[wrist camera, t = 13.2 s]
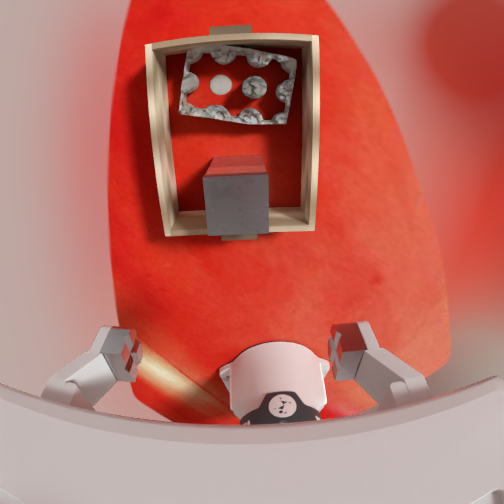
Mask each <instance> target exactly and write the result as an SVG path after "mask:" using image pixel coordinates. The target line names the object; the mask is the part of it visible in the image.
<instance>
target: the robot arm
mask: <svg viewBox="0 0 504 504" xmlns="http://www.w3.org/2000/svg"><path fill="white" fill-rule="evenodd" d="M330 332H331V335H332V336H331V337H330V338H329V341H328V356H329V360H330V361H331V362H332V363H333V366H332V372H333V375H334V379H335V381H340V380H349V379H354V380H355V381H356V382H357V383H358V384H359V385H360V386H361V387H362V388H363V389H364V390H365V391H366V392H367V393H368V394H369V395H370V396H371V397H372V398H373V399H374V400H375V401H376V402H377V403H378V404H379V407H378V408H377V410H376V411H374V412H369V413H364V414H358V415H352V416H345V417H339V418H331V419H324V420H321V416H320V413H319V412H320V410H322V409H323V407H324V405H325V404H326V403H327V398H326V391H325V385H324V377H325V376H326V374H327V372H328V371H329V369H330V365H329V362H328V361H327V360H324V359H321V358H318V357H317V356H316V355H315V354H314V353H313V352H312V351H311V350H310V349H308V348H307V347H305V346H302V345H300V344H296V343H291V342H269V343H264V344H260V345H257V346H254V347H251V348H249V349H247V350H246V351H244V352H243V353H241V354H240V355H239V356H238V357H237V358H236V359H235V360H234V361H233V362H231V363H229V364H227V365H224V366H222V367H221V368H220V369H219V374H220V377H221V379H222V380H223V382H224V384H225V386H226V388H227V389H228V391H229V393H230V409H231V410H232V411H233V412H234V414H235V415H236V417H237V418H238V419H239V420H240V425H211V424H190V423H176V422H165V421H156V420H147V419H140V418H133V417H125V416H120V415H114V414H108V413H103V412H98V411H95V409H94V408H93V406H94V405H95V404H96V403H97V402H98V401H99V400H100V399H101V398H102V397H103V396H104V395H105V393H107V392H108V391H109V390H110V389H111V388H112V387H113V386H114V384H115V383H117V381H127V382H135V379H136V376H137V373H138V369H137V367H136V366H137V365H138V364H139V363H141V360H142V352H143V351H142V345H141V343H140V341H139V340H137V339H136V337H137V332H136V330H135V329H134V328H127V327H116V326H113V327H112V326H102V327H101V328H100V330H99V332H98V334H97V336H96V338H95V340H94V342H93V344H92V346H91V348H90V350H89V352H88V351H86V352H84V353H83V354H82V355H80V356H79V357H77V358H76V359H75V360H73V361H72V362H70V363H69V364H68V365H66V366H65V367H63V368H62V369H61V370H59V371H58V372H57V373H55V374H54V375H52V376H51V377H50V378H49V380H48V383H47V384H46V387H45V389H44V391H43V393H42V395H41V397H38V396H35V395H32V394H29V393H26V392H23V391H19V390H17V389H14V388H11V387H9V386H6V385H3V384H1V383H0V504H504V378H502V377H500V376H492V377H489V378H487V379H484V380H482V381H479V382H477V383H474V384H471V385H468V386H466V387H463V388H460V389H457V390H454V391H451V392H448V393H445V394H441V395H438V396H435V397H433V396H432V394H431V392H430V390H429V387H428V385H427V383H426V381H425V379H424V376H423V375H422V374H420V373H419V372H417V371H416V370H414V369H413V368H412V367H410V366H409V365H407V364H406V363H404V362H403V361H401V360H400V359H399V358H397V357H396V356H394V355H393V354H391V353H390V352H388V351H387V350H386V349H384V348H380V347H379V345H378V342H377V340H376V338H375V335H374V333H373V331H372V329H371V327H370V324H369V322H368V321H361V322H352V323H342V324H333V325H332V327H331V331H330Z"/></svg>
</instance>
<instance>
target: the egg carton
mask: <svg viewBox="0 0 504 504" xmlns="http://www.w3.org/2000/svg"><path fill="white" fill-rule="evenodd" d="M203 53H211V56H212V58H213V59H214V60H215V61H216V62H217V63H219V64H221V65H226V64H230V63H231V62H232V61H234V59H235V57H236V56H237V55H240V56H246V57H247V61H248V63H249V64H250V65H251V66H252V67H255V68H262V67H265V66H266V65H267V64H268V63H269V62H270V61H271V60H272V59H273V60H277V62H280V65H281V67H282V69H283V70H284V71H286V72H288V73H289V79H288V80H285V81H284V82H283V83H281V84H279V85H278V86H277V88H276V91H275V93H276V96H277V98H278V99H279V100H280V101H281V102H284V103H285V110H284V112H280V113H277V114H275V115H274V116H273V118H272V119H271V120H264V119H263V118H262V115H261V114H260V113H259V112H258V111H257V110H256V109H253V108H247V109H244V110H243V111H242V112H241V113H240V115H239V116H231V115H230V114H229V112H228V111H227V110H226V108H225V107H223V106H221V105H211V106H208V107H207V108H206V109H202V108H196V107H194V106H193V105H191V104H189V103H187V102H186V99H187V94H189V93H192V92H194V91H195V90H196V89H197V88H198V86H199V79H198V77H197V76H196V75H195V74H193V73H191V72H189V70H190V66H191V64H192V63H195V62H197V61H199V60H200V59H201V57H202V55H203ZM296 66H297V60H296V59H294V58H290V57H287V56H283V55H279V54H273V53H268V52H263V51H258V50H255V49H249V48H241V47H234V46H226V45H212V46H203V47H195V48H192V49H190V50H188V51H187V55H186V62H185V67H184V75H183V80H182V85H181V97H180V105H179V114H182V115H190V116H198V117H205V118H212V119H219V120H225V121H232V122H237V123H243V124H286V123H287V118H288V113H289V108H290V102H291V97H292V91H293V86H294V81H295V74H296ZM231 87H232V82H231V80H230V79H229V78H228V77H227V76H225V75H217V76H215V77H213V78H212V79H211V81H210V88H211V91H212V92H213V93H214V94H217V95H224V94H226V93H228V92H229V91H230V90H231ZM266 90H267V84H266V82H265V80H264V79H262V78H261V77H259V76H252V77H249V78H247V79H246V80H244V82H243V84H242V91H243V94H244V95H245V96H247V97H249V98H252V99H258V98H260V97H262V96H263V95H264V94H265V93H266Z"/></svg>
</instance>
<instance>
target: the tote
mask: <svg viewBox="0 0 504 504" xmlns="http://www.w3.org/2000/svg"><path fill="white" fill-rule="evenodd" d="M212 45H226V46H234V47H241V48H291V49H302V175H301V205H300V207H270V208H269V232H286V231H315V217H316V201H317V183H318V160H319V124H320V65H319V36H317V35H304V34H286V33H252V25H235V26H219V27H210V35H209V36H199V37H190V38H183V39H176V40H169V41H163V42H157V43H152V44H147V45H145V54H146V77H147V93H148V107H149V118H150V129H151V139H152V148H153V157H154V165H155V173H156V180H157V187H158V194H159V201H160V208H161V214H162V220H163V226H164V232H165V236H184V235H206V234H208V228H207V219H206V210H198V211H181V212H179V204H178V196H177V188H176V180H175V171H174V162H173V152H172V142H171V131H170V119H169V105H168V90H167V72H166V56H167V55H174V54H181V53H187V51H188V50H190V49H192V48H195V47H203V46H212ZM221 237H222V240H248V239H258V234H241V235H221Z"/></svg>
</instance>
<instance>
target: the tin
mask: <svg viewBox="0 0 504 504" xmlns="http://www.w3.org/2000/svg"><path fill="white" fill-rule="evenodd" d="M203 188H204V198H205V209H206V219H207V228H208V236H217V235H241V234H267V233H269V180H268V172H266V169H265V165H264V163H263V159H262V156H261V155H240V156H220V157H214V158H213V160H212V162H211V164H210V167H209V168H208V170H207V172H206V175H204V176H203Z"/></svg>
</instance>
